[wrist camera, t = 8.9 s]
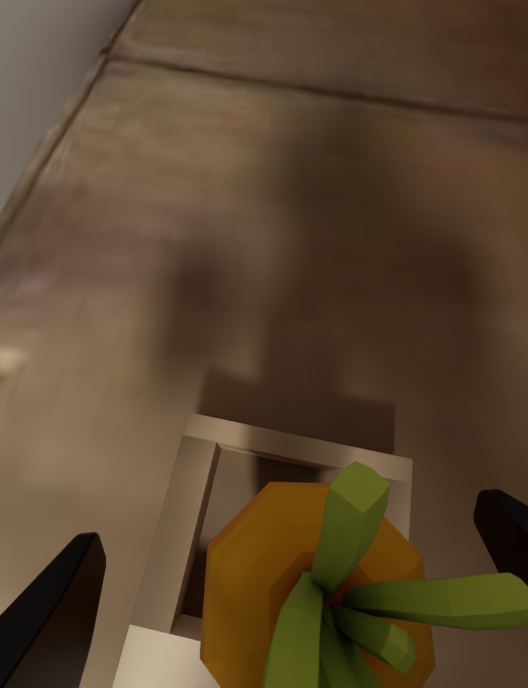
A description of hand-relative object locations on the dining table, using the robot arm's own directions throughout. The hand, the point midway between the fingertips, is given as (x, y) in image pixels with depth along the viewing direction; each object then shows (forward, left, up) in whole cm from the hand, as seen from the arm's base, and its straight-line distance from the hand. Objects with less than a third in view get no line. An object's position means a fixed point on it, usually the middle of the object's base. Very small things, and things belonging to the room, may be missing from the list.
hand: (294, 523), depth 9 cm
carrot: (0, +2, -10) cm, 10 cm away
